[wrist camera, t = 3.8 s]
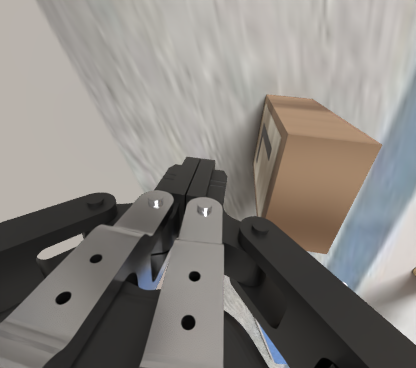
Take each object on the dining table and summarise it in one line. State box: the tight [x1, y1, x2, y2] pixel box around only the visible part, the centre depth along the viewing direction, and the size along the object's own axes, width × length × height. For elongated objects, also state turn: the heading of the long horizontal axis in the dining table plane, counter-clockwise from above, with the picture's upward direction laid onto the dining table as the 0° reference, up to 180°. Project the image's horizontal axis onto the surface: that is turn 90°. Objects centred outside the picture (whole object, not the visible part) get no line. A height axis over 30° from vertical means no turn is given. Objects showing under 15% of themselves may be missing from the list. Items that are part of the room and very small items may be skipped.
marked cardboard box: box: [253, 95, 382, 254], centre depth 14 cm, size 6×4×10 cm, turn 176°
